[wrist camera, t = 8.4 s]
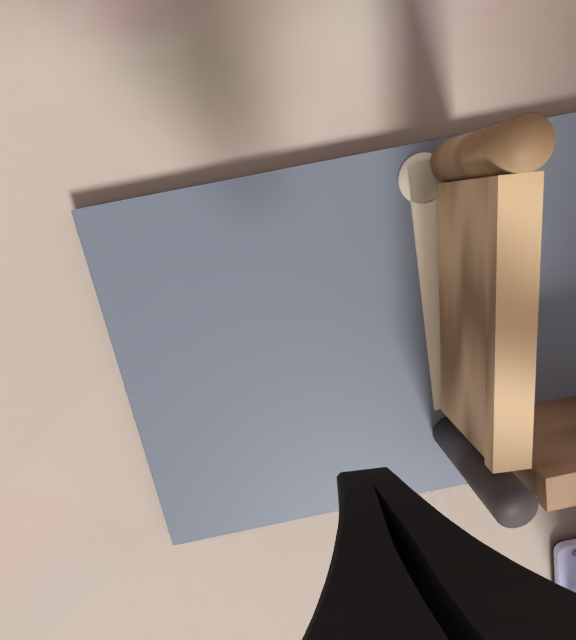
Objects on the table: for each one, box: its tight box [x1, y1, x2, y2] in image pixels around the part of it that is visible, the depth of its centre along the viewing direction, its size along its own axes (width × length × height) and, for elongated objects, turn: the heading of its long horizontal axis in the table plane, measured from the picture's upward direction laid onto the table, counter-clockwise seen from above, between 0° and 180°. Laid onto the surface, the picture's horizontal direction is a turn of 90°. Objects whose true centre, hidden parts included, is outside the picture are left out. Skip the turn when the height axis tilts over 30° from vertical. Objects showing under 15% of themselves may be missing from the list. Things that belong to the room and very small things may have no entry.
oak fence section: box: [430, 112, 555, 474], centre depth 17 cm, size 12×2×5 cm, turn 6°
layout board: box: [71, 112, 576, 545], centre depth 20 cm, size 28×16×1 cm, turn 101°
